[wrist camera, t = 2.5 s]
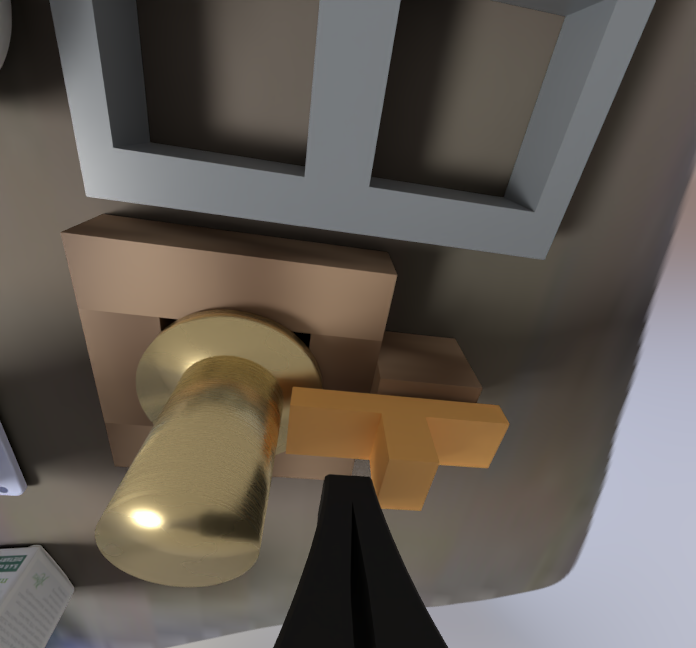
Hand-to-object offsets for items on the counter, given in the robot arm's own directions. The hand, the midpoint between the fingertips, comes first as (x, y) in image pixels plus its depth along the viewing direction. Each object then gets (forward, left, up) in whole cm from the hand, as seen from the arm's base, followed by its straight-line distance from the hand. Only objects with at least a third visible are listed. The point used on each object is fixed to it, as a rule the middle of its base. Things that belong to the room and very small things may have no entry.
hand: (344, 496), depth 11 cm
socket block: (-2, 0, -7) cm, 8 cm away
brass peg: (-4, 0, -7) cm, 8 cm away
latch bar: (+2, 0, -3) cm, 4 cm away
